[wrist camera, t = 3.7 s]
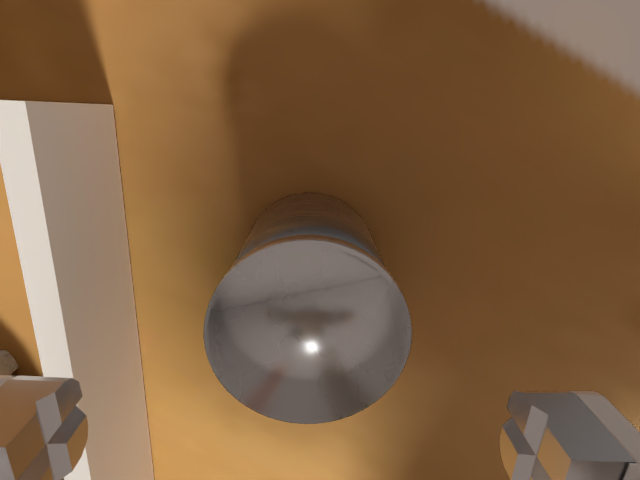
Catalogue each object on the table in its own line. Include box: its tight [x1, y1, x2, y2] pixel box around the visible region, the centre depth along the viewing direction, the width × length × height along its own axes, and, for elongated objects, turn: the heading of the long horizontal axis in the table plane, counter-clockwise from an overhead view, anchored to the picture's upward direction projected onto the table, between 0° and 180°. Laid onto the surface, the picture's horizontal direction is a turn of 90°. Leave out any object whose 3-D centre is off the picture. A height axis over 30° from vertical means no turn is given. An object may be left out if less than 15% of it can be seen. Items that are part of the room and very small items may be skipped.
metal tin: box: [204, 193, 412, 424], centre depth 14 cm, size 6×6×7 cm
